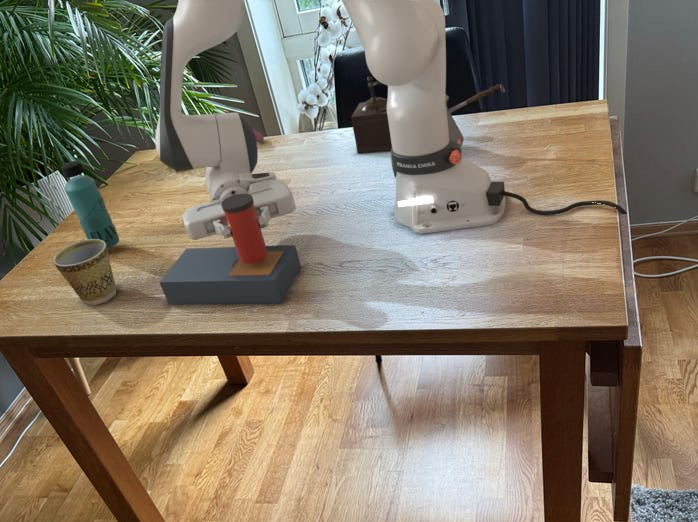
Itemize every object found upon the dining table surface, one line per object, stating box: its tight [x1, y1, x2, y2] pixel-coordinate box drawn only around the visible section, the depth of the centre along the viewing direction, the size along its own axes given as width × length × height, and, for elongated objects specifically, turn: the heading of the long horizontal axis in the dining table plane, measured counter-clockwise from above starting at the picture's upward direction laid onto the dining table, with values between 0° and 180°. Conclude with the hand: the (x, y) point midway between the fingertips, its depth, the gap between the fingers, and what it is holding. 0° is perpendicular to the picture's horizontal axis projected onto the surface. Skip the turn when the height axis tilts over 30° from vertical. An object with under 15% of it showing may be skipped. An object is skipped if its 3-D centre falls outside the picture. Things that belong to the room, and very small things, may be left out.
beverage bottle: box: [61, 160, 120, 250], centre depth 148 cm, size 6×7×20 cm
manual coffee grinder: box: [350, 76, 392, 154], centre depth 172 cm, size 16×11×18 cm
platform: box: [159, 244, 302, 305], centre depth 131 cm, size 23×12×5 cm, turn 77°
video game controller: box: [253, 128, 265, 144], centre depth 190 cm, size 10×5×7 cm, turn 68°
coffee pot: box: [446, 83, 506, 147], centre depth 159 cm, size 21×12×15 cm, turn 75°
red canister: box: [221, 194, 268, 264], centre depth 123 cm, size 6×6×11 cm
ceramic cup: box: [52, 239, 117, 306], centre depth 136 cm, size 13×10×10 cm
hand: (245, 228), depth 122 cm, fingers closed on red canister, 5 cm apart
